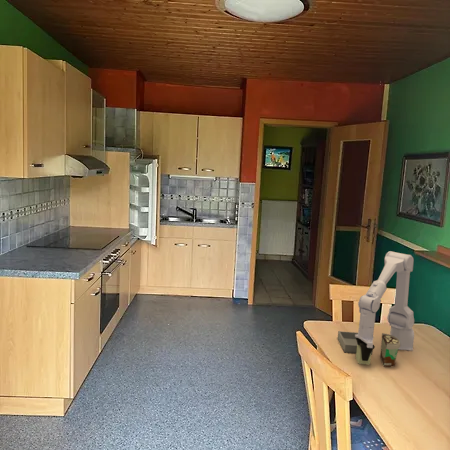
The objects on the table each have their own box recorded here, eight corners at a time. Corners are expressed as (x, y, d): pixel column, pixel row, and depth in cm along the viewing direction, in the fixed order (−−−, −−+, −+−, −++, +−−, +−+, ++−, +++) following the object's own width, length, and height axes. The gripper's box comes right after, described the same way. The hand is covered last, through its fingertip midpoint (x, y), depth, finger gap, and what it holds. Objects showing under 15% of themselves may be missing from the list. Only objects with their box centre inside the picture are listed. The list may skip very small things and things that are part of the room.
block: (366, 359, 175) (368, 345, 175) (369, 364, 171) (371, 350, 170) (355, 358, 176) (357, 344, 175) (358, 363, 171) (360, 349, 170)
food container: (400, 370, 167) (403, 346, 166) (384, 368, 168) (386, 344, 167) (394, 357, 179) (397, 334, 178) (379, 355, 180) (382, 332, 179)
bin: (362, 340, 196) (363, 333, 195) (372, 354, 180) (373, 347, 180) (337, 338, 196) (338, 331, 196) (344, 352, 181) (345, 344, 180)
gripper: (352, 318, 179) (349, 349, 181) (361, 331, 164) (357, 364, 166) (369, 319, 178) (366, 350, 180) (379, 332, 164) (376, 366, 166)
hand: (363, 357), depth 173 cm, fingers closed on block, 4 cm apart
